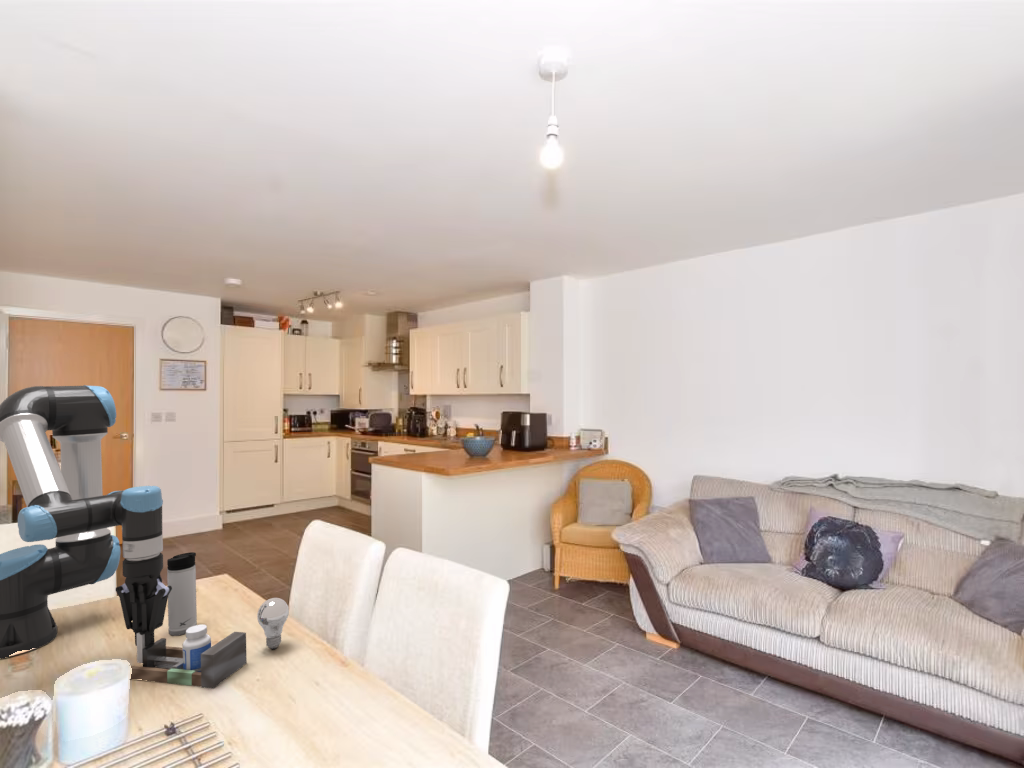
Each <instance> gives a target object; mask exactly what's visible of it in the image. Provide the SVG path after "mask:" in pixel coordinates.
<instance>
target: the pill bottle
mask: <svg viewBox="0 0 1024 768" xmlns="http://www.w3.org/2000/svg"><path fill="white" fill-rule="evenodd" d="M207 626H208V625H206V624H197V625H195V626H192V627H190V628H188V629H187V630H186V634H185V637H186V638H185V640H184V641H183V643H182V648H183V670H194V671H196V672H201V654H202V653H203V652H205V651H206V650H208V649H209V648H211V647H212V638H211V636H210V635H209V634H208V627H207Z"/></svg>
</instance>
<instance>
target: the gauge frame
mask: <svg viewBox="0 0 1024 768" xmlns="http://www.w3.org/2000/svg"><path fill="white" fill-rule="evenodd" d="M166 657H174V658H183V647H179V646H167V645H166ZM247 660H248V659H247V632H245V631H244V632H243V631H234V632H231V633H230V634H229V635H227V636H226V637H223V639H221V640H220V641H218V642H217V643H215V644H213V645H211V648H209V649H208V650H206V651H205V652H203V653H202V654H201V672H196V671H194V670H183V669H172V668H171V669H169V668H159V667H155V668H150V667H143V666H141V665H139V666H138V665H130V666H131V668H132V674H131V679H130V680H132V679H142V680H147V681H146V682H151V681H155V682H154V683H160V684H161V683H163V684H172V685H181V686H191V687H192V686H193V687H201V688H204V687H205V688H206V689H215V688H216V687H217V686H219V685H220V684H222V683H223V682H224V681H225V680H227V679H228V678H230V677H231V676H232V675H233V674H235V673H236V672H237V671H238V670H240V669H241V668H242V667H244V666H245V665H246V664H247V663H248V662H247ZM243 665H244V666H243ZM239 668H240V669H239ZM230 675H231V676H230ZM205 688H204V689H205Z"/></svg>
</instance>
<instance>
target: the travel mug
mask: <svg viewBox="0 0 1024 768" xmlns="http://www.w3.org/2000/svg"><path fill="white" fill-rule="evenodd" d="M196 555H197V553H196V552H193V551H192V552H191V551H190V552H185V553H180V554H177V555H174V556H173V557H170V558H168V559H167V561H166V563H167V564H166V565H167V569H166V571H167V572H166V573H167V574H166V575H167V577H166V578H167V582H166V583H167V586H169V585H170V586H171V587H172V590H171V592H170V593H169V595H168V599H167V617H168V619H167V621H168V624H167V625H168V626H167V627H168V634H169V635H170V636H172V637H173V636H183V635H186V630H187V629H188V628H190V627H192V626H195V625H198V622H197V620H198V619H197V618H198V617H197V572H196V571H197V570H196V565H197V564H196V557H197V556H196Z"/></svg>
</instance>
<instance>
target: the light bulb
mask: <svg viewBox="0 0 1024 768" xmlns="http://www.w3.org/2000/svg"><path fill="white" fill-rule="evenodd" d="M289 609H290V608H289V606H288V604H287V602H286V601H285V600H284V599H283V598H279V597H271V598H269V599H267V600H265V601H264V602H263V603H262V604H261V605H260V606H259V608H258V610H257V614H256V618H257V622H258V624H259V626H260V627H261V628H262V630H263V631H264V635H265V637H266V639H265V640H266V641H265V644H266V647H267V648H269V649H271V650H276V649H277V648H278V647H279V646H280V644H281V643H282V633H283V627H284V625H285V624H286V621H287V619H288V617H289V613H290V612H289V611H290V610H289Z"/></svg>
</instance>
